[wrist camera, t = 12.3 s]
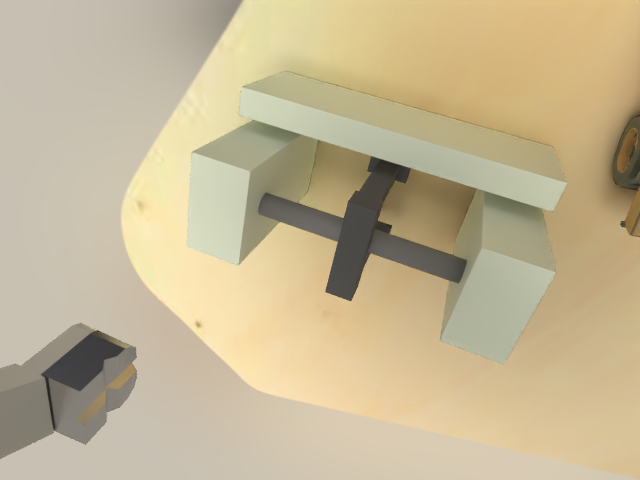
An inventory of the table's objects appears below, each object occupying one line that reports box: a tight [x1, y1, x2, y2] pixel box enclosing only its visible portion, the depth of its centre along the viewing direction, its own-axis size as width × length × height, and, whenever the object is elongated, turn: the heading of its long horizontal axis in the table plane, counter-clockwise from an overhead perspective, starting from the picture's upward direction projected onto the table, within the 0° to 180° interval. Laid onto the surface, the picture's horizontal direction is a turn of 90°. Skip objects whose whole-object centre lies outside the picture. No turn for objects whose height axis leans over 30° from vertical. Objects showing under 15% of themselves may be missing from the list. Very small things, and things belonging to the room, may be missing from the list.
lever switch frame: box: [186, 71, 567, 364], centre depth 33 cm, size 22×10×14 cm, turn 78°
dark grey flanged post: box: [325, 156, 410, 301], centre depth 33 cm, size 3×7×9 cm, turn 168°
